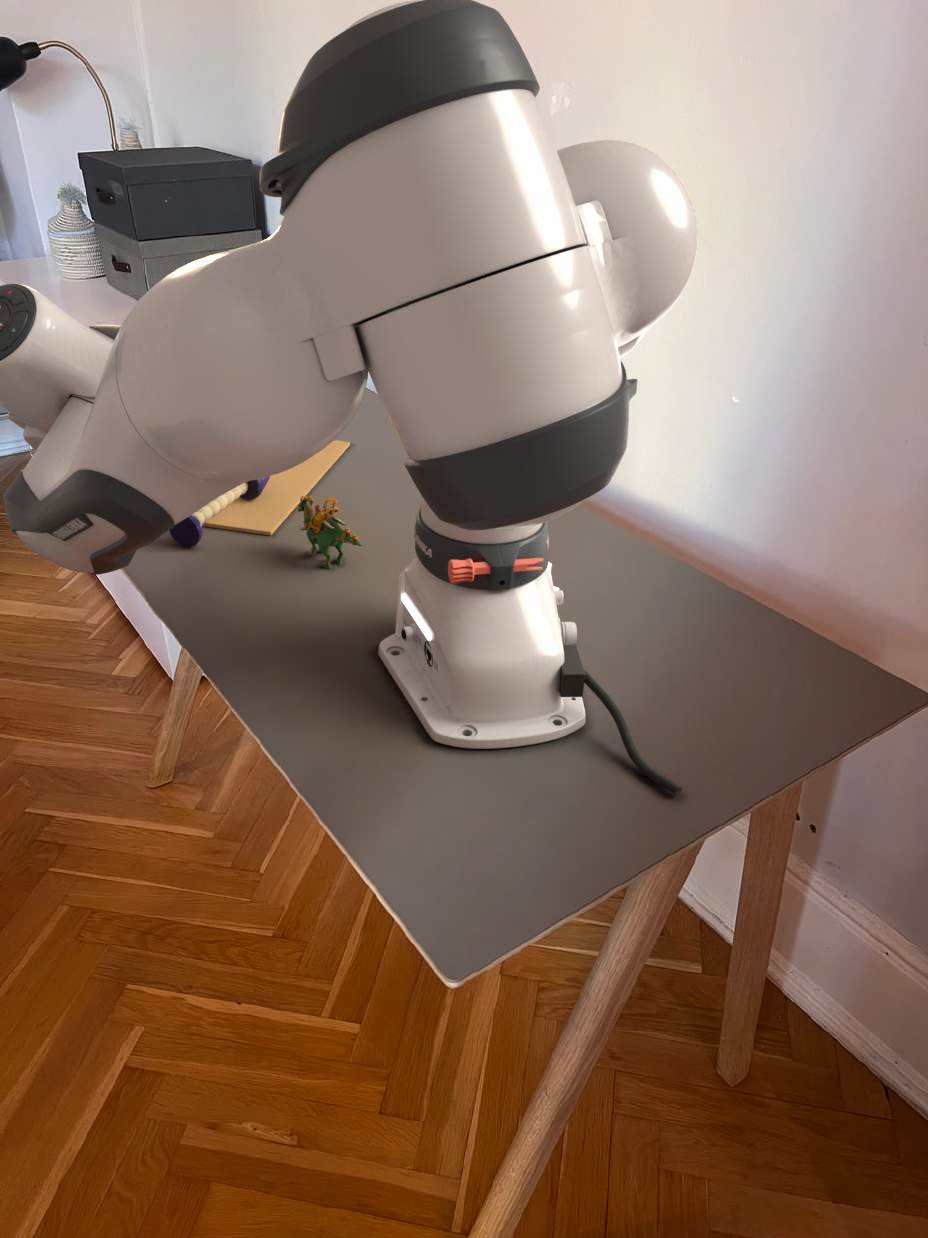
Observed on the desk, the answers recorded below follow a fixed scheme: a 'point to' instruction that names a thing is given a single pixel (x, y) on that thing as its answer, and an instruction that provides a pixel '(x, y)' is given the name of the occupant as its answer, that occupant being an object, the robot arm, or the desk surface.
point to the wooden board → (278, 495)
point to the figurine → (325, 528)
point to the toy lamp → (214, 511)
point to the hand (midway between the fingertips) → (170, 479)
